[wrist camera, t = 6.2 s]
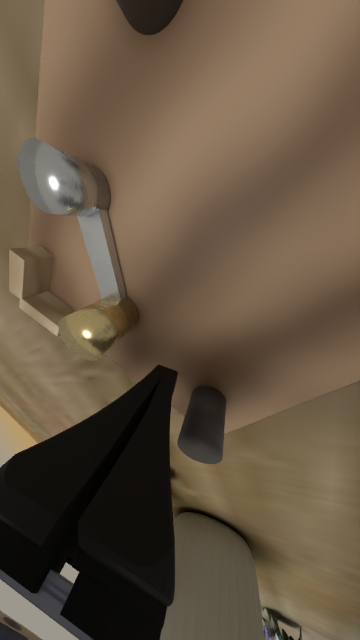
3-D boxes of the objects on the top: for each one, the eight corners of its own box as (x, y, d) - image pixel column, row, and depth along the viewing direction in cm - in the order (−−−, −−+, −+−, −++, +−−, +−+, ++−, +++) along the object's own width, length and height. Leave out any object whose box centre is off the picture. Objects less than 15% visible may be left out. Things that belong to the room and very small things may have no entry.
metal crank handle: (62, 168, 8) (-33, 134, 5) (106, 156, 7) (21, 109, 5) (110, 327, 12) (70, 356, 9) (141, 330, 11) (108, 363, 8)
